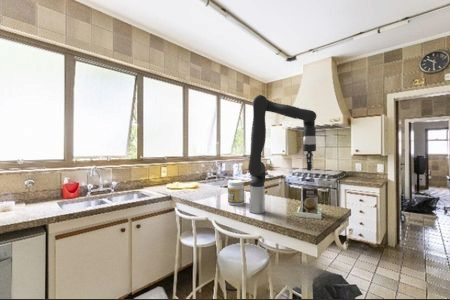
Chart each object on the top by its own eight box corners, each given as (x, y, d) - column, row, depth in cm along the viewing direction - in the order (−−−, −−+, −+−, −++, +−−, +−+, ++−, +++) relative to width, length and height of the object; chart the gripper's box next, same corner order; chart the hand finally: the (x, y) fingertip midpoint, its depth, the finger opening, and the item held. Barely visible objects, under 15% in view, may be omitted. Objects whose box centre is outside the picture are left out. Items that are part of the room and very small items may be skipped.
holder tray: (296, 216, 144) (296, 212, 144) (298, 210, 157) (298, 206, 157) (321, 219, 139) (321, 214, 139) (321, 212, 152) (321, 208, 152)
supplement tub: (224, 203, 176) (224, 181, 176) (235, 200, 185) (235, 179, 184) (236, 207, 168) (236, 183, 167) (247, 203, 176) (247, 181, 176)
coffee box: (302, 214, 146) (302, 188, 145) (300, 211, 152) (300, 186, 151) (318, 215, 144) (318, 189, 144) (315, 212, 150) (315, 187, 150)
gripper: (304, 143, 154) (304, 168, 155) (302, 143, 141) (302, 170, 142) (316, 143, 151) (316, 168, 152) (315, 143, 138) (315, 171, 139)
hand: (309, 169), depth 147 cm, fingers open, 8 cm apart
